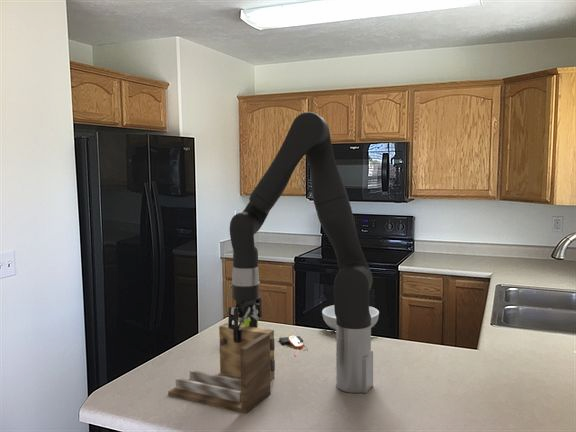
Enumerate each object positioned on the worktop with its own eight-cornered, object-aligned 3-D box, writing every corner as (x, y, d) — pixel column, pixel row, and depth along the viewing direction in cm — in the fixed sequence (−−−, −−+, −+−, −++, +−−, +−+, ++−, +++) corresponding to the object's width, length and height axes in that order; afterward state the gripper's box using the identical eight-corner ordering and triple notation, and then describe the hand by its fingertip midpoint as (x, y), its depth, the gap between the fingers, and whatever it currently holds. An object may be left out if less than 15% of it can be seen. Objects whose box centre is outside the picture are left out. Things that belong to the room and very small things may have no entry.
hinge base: (270, 394, 135) (269, 334, 133) (246, 413, 124) (245, 349, 123) (196, 378, 145) (194, 323, 144) (168, 395, 135) (166, 335, 133)
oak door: (277, 379, 145) (277, 330, 143) (268, 385, 140) (268, 335, 139) (226, 369, 152) (225, 323, 151) (217, 375, 148) (216, 327, 146)
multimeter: (324, 357, 162) (324, 346, 162) (287, 359, 160) (287, 349, 160) (312, 339, 180) (312, 330, 180) (278, 341, 178) (278, 332, 178)
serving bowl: (313, 324, 196) (313, 306, 195) (361, 318, 203) (361, 301, 203) (337, 341, 176) (337, 321, 176) (390, 334, 184) (390, 315, 183)
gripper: (243, 288, 137) (243, 347, 138) (269, 278, 149) (269, 333, 151) (220, 285, 140) (220, 343, 142) (247, 276, 153) (247, 329, 154)
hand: (245, 338), depth 146 cm, fingers open, 8 cm apart
